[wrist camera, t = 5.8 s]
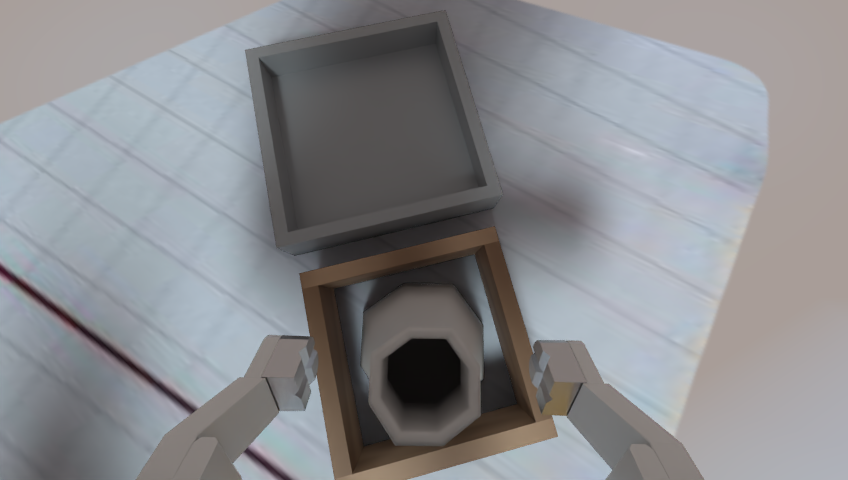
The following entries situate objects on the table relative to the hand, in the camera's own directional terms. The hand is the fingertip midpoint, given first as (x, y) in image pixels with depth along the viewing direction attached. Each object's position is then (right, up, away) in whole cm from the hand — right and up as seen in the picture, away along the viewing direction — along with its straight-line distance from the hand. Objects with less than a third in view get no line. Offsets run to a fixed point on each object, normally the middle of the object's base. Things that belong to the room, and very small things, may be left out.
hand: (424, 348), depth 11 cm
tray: (-3, +10, +10) cm, 14 cm away
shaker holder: (0, -2, +7) cm, 7 cm away
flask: (0, -2, +7) cm, 8 cm away
